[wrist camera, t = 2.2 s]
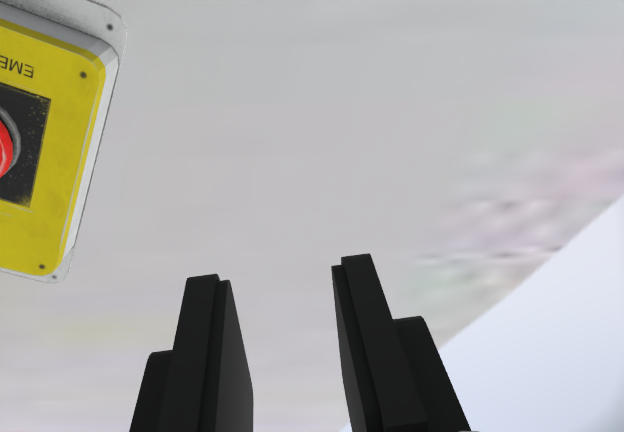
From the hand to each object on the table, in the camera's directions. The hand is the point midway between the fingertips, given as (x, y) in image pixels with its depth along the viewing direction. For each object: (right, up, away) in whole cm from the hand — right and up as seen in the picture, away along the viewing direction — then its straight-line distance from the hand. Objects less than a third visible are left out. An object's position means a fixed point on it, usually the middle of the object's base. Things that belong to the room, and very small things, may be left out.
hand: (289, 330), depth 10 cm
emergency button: (-14, +6, +16) cm, 22 cm away
